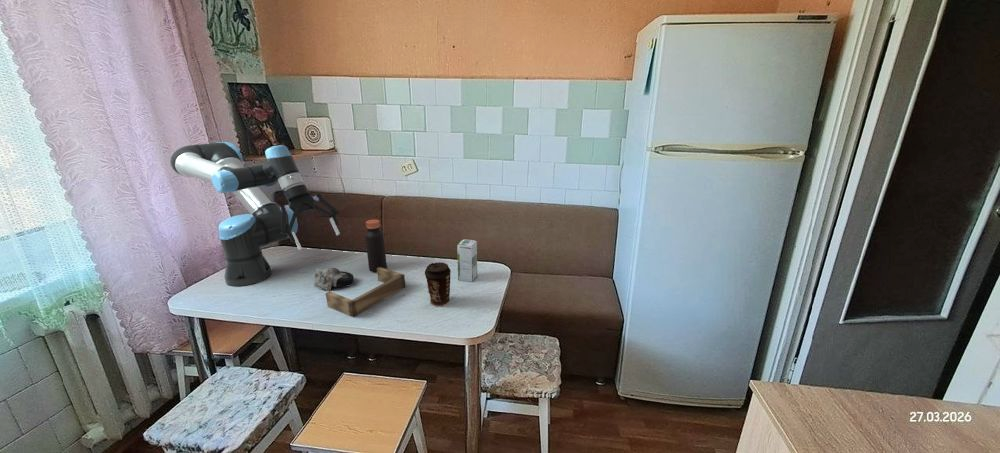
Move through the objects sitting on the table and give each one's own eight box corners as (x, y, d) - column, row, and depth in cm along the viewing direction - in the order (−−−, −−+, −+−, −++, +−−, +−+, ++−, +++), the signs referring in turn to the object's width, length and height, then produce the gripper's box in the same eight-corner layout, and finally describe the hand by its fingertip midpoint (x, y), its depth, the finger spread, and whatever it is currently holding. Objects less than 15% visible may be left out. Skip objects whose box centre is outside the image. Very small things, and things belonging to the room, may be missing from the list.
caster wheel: (356, 286, 148) (341, 295, 139) (329, 278, 150) (312, 286, 140) (359, 270, 147) (343, 278, 137) (331, 261, 148) (314, 269, 139)
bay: (327, 306, 130) (325, 293, 128) (381, 279, 148) (379, 267, 147) (353, 317, 124) (351, 303, 122) (405, 287, 142) (404, 274, 140)
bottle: (386, 272, 154) (381, 223, 147) (368, 273, 152) (362, 224, 146) (387, 264, 160) (382, 218, 154) (369, 266, 159) (364, 219, 152)
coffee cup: (430, 294, 137) (427, 260, 132) (453, 295, 136) (452, 260, 132) (424, 308, 129) (421, 272, 124) (450, 308, 128) (448, 272, 124)
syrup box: (463, 273, 152) (461, 238, 147) (477, 275, 151) (476, 240, 146) (457, 280, 147) (456, 244, 142) (472, 282, 145) (471, 245, 141)
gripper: (256, 196, 131) (284, 254, 132) (330, 174, 145) (355, 227, 146) (256, 202, 137) (283, 257, 139) (327, 179, 151) (351, 230, 152)
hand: (320, 241), depth 142 cm, fingers open, 13 cm apart
